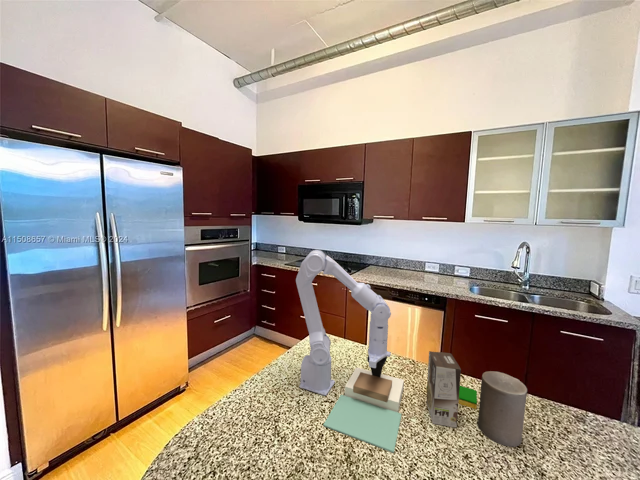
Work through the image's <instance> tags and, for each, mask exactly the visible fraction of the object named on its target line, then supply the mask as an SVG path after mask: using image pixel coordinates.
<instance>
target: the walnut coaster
mask: <svg viewBox="0 0 640 480" xmlns="http://www.w3.org/2000/svg"><path fill="white" fill-rule="evenodd" d="M391 388H392V380H388V379H385V378H381V377H377V376H373V375H370V374H366V373H362V372H360V374H359V376H358V378H357V380H356V382H355V384H354V386H353V392H354V393H357V394H361V395H364V396H367V397H370V398H374V399H377V400H380V401H384V402H388V398H389V395H390V391H391Z"/></svg>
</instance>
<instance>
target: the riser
mask: <svg viewBox="0 0 640 480" xmlns="http://www.w3.org/2000/svg"><path fill="white" fill-rule="evenodd" d="M360 372H362V373H366V374H370V375H372V372H371V370H367V369H364V368H360V367H355V369H354V370H353V372H352V374H351V376H350V377H349V379H348V381H347V383H346V384H345V385H344V396H347V397H350V398H354V399H357V400H360V401H363V402H366V403H369V404H373V405H376V406H379V407H382V408H385V409H388V410H392V411H395V412H398V413H399V410H400V407H401V400H402V397H403V393H404V385H405V384H404V383H405V379H402V378H398V377H394V376H390V375H388V374H383V373H381V378H385V379H388V380H392V388H391V391H390V395H389V398H388V402H384V401H380V400H377V399H374V398H370V397H367V396H364V395H361V394H357V393H354V392H353V386H354V384H355V382H356V380H357V378H358V376H359V374H360Z"/></svg>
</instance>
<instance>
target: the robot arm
mask: <svg viewBox="0 0 640 480" xmlns="http://www.w3.org/2000/svg"><path fill="white" fill-rule="evenodd" d="M321 272H323V273H322V274H323V275H331V276H333V277H334V278H336V279H337V280H338V281H339V282H340V283H342V284H343V285H344V286H345V287H347V289H349V290H350V291H351V293H350V294H351V297H352V298H353V299H354V300H355V301H356V302H358V303H359V305H360V306H362V307H363V308H364V309H365V310H367V311H369V312H370V321H369V330H368V332H369V333H368V349H367V354H368V355H367V359H366V360H367V363H368V367H369V368H370V371H371V372H372V375H373V376H377V377H381V374H383V373H382V372H383V368H384V365H385V364H386V361H387V360H388V357H391V356H392V355H391V354H392V353H391V352H390V351H388V338H389V337H388V336H389V335H388V334H389V333H388V332H389V319H390V318H391V315H392V312H391V309H390V306H389V305H388V304H387V302H386V301H385V299H384V298H383V297H382V296H381V295H380V294H377V293H376V292H374V291H373V289H371V288H372V287H371V285H370V284H368V283H367V284H366V283H365V282H357V281H356V280H355V279H354V278H353V277H352V276H351V275H350V274H349V273H348V272H347V271H346V270H345V269H344V268H343V267H342V266H341V265H340V264H339V263H337V262H336V261H335V260H334V259H333V258H331V257H330V256H329V255H326V253H325V252H324V251H322V250H321V249H314V250H311V251H310V252H309V253H308V254H307V255H306V257H305V258H304V259H303V260H302V262H301V263H300V267H299V270H298V273H297V275H296V278H295V283H296V288H297V292H298V295H299V298H300V299H299V300H300V303H301V307H302V311H303V315H304V319H305V323H306V327H307V331H308V334H309V335H308V336H309V339H308V340H309V346H310V351H309V354H306V355H304V357H303V359H302V361H301V365H300V384H299V388H300V389H303V390H307V391H310V392H313V393H316V394H318V395H322V396H327V395H328V394H329V392H330V391H331V389H332V387H333V386H334V384H335V383H336V381H335V380H334V379H331V378H332V377H331V376H332V355H331V349H330V348H331V344H332V343H331V339H330V337H329V336H328V335H327V333H326V329H325V328H324V326H323V321H322V317H321V314H320V309H319V307H318V305H319V304H318V302H317V297H316V294H315V290H314V286H313V281H314V280H315V277H316V276H317V275H319V274H320V273H321Z"/></svg>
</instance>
